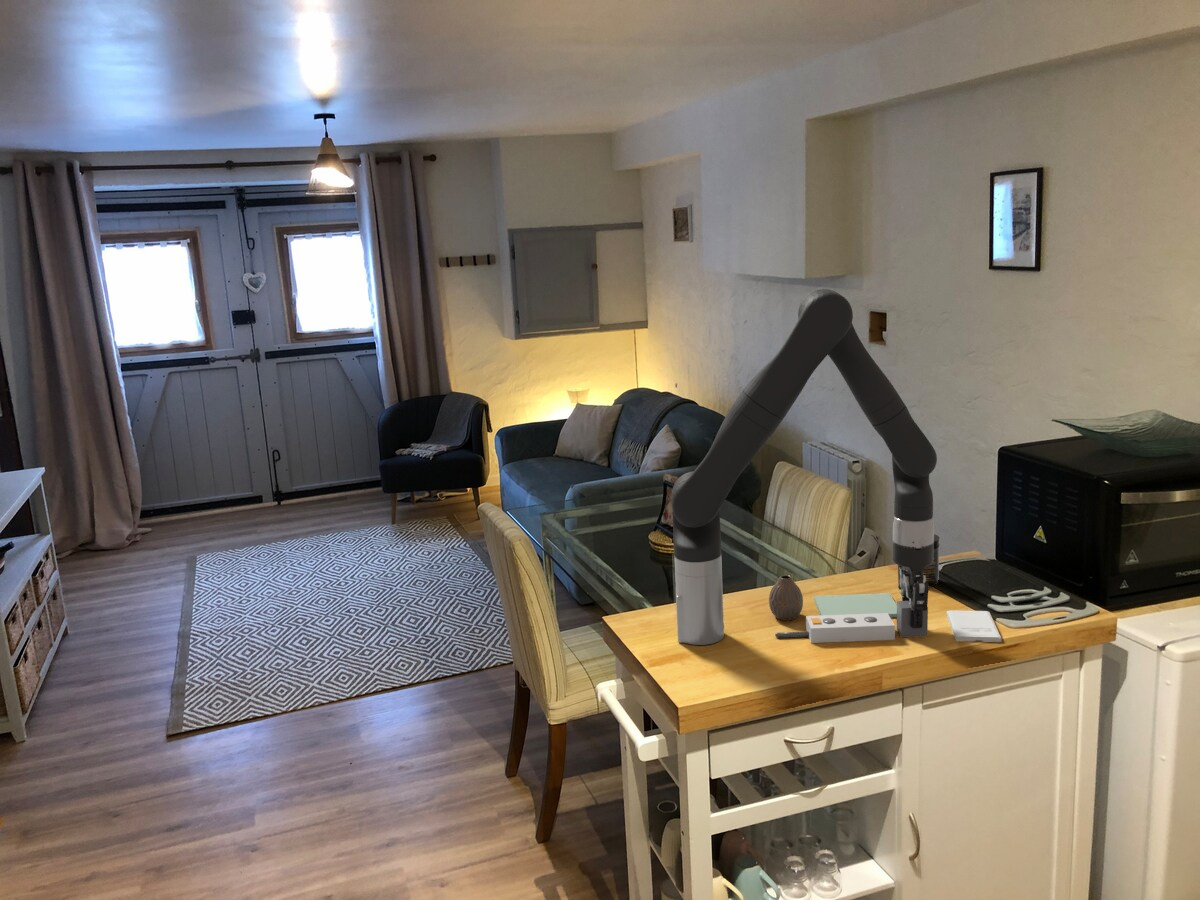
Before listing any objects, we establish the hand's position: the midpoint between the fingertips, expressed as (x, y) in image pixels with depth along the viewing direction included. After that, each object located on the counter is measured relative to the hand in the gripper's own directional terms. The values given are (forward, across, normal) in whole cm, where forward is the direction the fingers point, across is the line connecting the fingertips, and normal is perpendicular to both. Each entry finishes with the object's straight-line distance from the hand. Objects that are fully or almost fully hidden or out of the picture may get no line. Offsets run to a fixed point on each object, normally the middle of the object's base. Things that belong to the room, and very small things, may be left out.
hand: (912, 620), depth 193 cm
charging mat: (+2, -13, -8) cm, 15 cm away
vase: (+3, -10, -23) cm, 25 cm away
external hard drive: (+3, -1, +12) cm, 13 cm away
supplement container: (+3, -26, +9) cm, 28 cm away
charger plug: (+3, 0, 0) cm, 3 cm away
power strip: (+2, 0, -15) cm, 15 cm away
